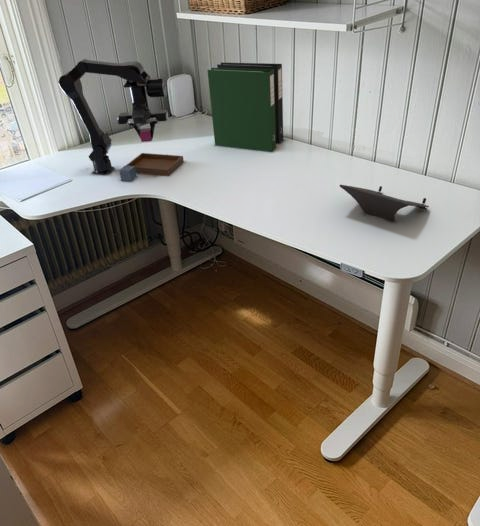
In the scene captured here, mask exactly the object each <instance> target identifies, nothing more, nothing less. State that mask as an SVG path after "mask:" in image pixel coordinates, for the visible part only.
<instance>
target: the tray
mask: <svg viewBox="0 0 480 526" xmlns="http://www.w3.org/2000/svg"><path fill="white" fill-rule="evenodd" d="M184 162H185V161H184V156H183V155H175V154H162V153H161V154H160V153H148V152H147V153H146V152H141V153H140V154H138V155H137V156H136V157H135V158H134V159H132V160H131V161H129V163H127V164H126V166H135V169H136V174H144V175H154V176H155V175H156V176H164V177H165V176H166V177H169V176H171V174H173V172H175V171H176V170H177V169H178V168H179V167H180V166H181V165H182V164H183V163H184Z"/></svg>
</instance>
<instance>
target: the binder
mask: <svg viewBox="0 0 480 526" xmlns="http://www.w3.org/2000/svg"><path fill="white" fill-rule="evenodd" d="M206 72H207V79H208V88H209V89H208V91H209V98H210V109H211V118H212V119H211V120H212V129H213V135H214V136H213V139H214V146H217V147H225V148H233V149H243V150H251V151H260V152H267V153H268V152H269V153H270V152H271V153H272V152H274V150H276V148H277V145H280V144H281V143H282V142H283V141H284V108H283V107H284V102H283V99H284V98H283V63H268V62H267V63H261V62H259V63H258V62H220V64H219V63H218V64H216V67H211V68H210V69H207V71H206Z"/></svg>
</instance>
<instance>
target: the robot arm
mask: <svg viewBox="0 0 480 526" xmlns="http://www.w3.org/2000/svg"><path fill="white" fill-rule="evenodd" d="M86 73H87V74H97V75H103V76H104V75H106V76H115V77H119V78H121V79H122V80H126V82H125V84H124V85H123V88H124V89H126V88H129V91H130V96H131V102H132V103H131V104H132V110H131V111H132V112H129V111H126V112H120V113H119V114H118V116H117V124H118V125H126V124H128V126H131V127H132V128H133V129H134V130H135V131H136V133H137V135H138V137H139V139H141V137H140V130H141V129H142V128H141V124H142V125H144V124H147V120H150V121H149V128H151V137H152V138H153V139H154V135H155V128H156V125H157V124H158V123H160V122H166V121H168V118H169V112H168V110H167V109H157V110H156V112H151V109H150V105H149V98H150V99H155V98H157V99H158V98H166V97H167V95H168V94H167V92H168V91H167V85H166V82H165V81H164V77H157V78H152V77H151V76H150V75H149V74H148V73H147V71H146V70H145V69H144V66H143V64H141V62H139V61H137V60H136V61H135V60H134V61H124V62H109V61H101V60H91V59H87V58H83V59H81V60H79V61H78V62H77V64H76V65H75V66H74V67H73V68H72V69H70V71H69V70H68V71H67V72H65V73H64V74H62V75H61V76H60V77H59V78H58V86H59V87H60V89H61V90H62V92H63V93H64V94H65V95H66V96H67V97H68V98H69V99H70V100H71V101H72V104H73V105H74V107H75V109H76V111H77V113H78V115H79V117H80V119H81V121H82V123H83V125H84V127H85V129H86V131H87V133H88V134H89V140H90V146H91V148H92V149H91V152H90V153H89V155H88V159H89V160H90V161H91V162H92V166H93V170H92V174H95V175H107V174H108V173H110V172H111V171H112V170H114V168H115V167H114V166H112V162H111V159H110V156H109V155H108V153H109V151H110V149H111V147H112V144H113V143H112V141H113V139H111V137H110V135H109V132H108V131H103V130H102V129H101V127H100V126H99V123H98V122H97V120H96V117H95V115H94V113H93V112H92V110H91V107H90V106H89V104H88V101H87V100H86V98H85V95H84V91H83V84H82V81H81V78H83V77H84V75H85V74H86Z"/></svg>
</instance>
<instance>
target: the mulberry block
mask: <svg viewBox="0 0 480 526" xmlns="http://www.w3.org/2000/svg"><path fill="white" fill-rule="evenodd" d="M140 137H141V138H140ZM140 137H139V138H140V142H141V143H147V142H153V139H154V137H153V138H152V137H151V128H150V127H146V128H145V127H144V128H141V130H140Z"/></svg>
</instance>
